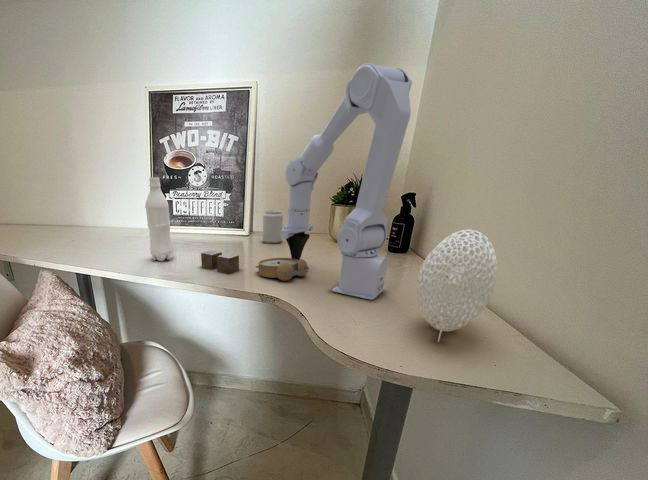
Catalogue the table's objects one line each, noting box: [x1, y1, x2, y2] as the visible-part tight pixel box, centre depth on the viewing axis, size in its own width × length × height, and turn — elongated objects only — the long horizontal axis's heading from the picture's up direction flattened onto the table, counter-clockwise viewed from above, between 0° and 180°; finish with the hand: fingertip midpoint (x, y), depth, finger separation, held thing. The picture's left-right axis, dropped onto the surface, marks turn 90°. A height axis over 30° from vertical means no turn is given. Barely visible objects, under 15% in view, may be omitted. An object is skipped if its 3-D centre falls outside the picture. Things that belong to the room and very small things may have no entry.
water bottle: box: [144, 176, 174, 262], centre depth 105 cm, size 7×7×25 cm
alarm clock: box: [255, 257, 310, 282], centre depth 90 cm, size 11×5×15 cm
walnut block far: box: [200, 250, 223, 271], centre depth 99 cm, size 4×4×4 cm
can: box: [262, 209, 284, 244], centre depth 130 cm, size 8×8×12 cm
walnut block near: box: [217, 252, 240, 274], centre depth 96 cm, size 4×4×4 cm
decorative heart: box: [415, 228, 498, 343], centre depth 56 cm, size 18×11×17 cm, turn 141°
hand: (295, 259), depth 95 cm, fingers closed
